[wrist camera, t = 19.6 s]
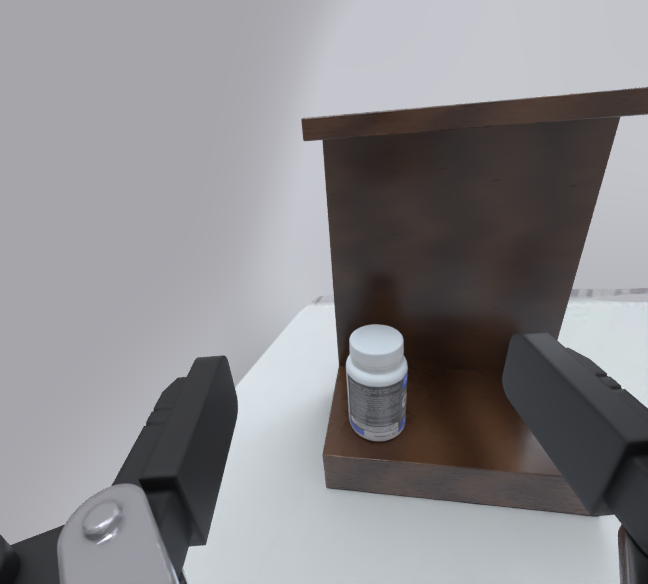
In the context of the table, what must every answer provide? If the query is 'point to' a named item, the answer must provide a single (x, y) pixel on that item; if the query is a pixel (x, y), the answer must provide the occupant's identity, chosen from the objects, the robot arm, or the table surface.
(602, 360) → the table surface
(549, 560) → the table surface
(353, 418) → the pill bottle
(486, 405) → the shelf
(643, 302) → the table surface
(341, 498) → the table surface
